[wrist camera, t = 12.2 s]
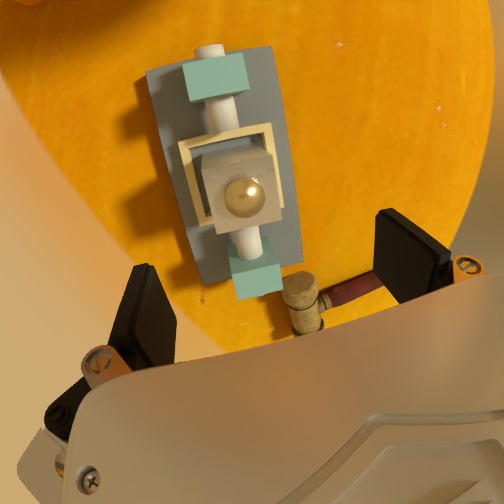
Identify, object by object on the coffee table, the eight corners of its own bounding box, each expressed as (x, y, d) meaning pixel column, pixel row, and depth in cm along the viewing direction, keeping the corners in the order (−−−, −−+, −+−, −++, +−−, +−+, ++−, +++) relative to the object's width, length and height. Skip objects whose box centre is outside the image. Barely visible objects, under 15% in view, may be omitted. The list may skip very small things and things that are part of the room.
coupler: (202, 153, 25) (200, 172, 18) (254, 142, 26) (275, 157, 18) (213, 201, 28) (217, 239, 20) (262, 190, 28) (285, 224, 20)
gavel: (425, 238, 33) (420, 293, 38) (405, 225, 37) (404, 278, 42) (285, 300, 32) (300, 351, 37) (274, 278, 36) (290, 330, 41)
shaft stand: (148, 73, 22) (128, 62, 15) (268, 49, 22) (289, 30, 16) (203, 278, 34) (204, 319, 27) (299, 255, 34) (321, 291, 28)
